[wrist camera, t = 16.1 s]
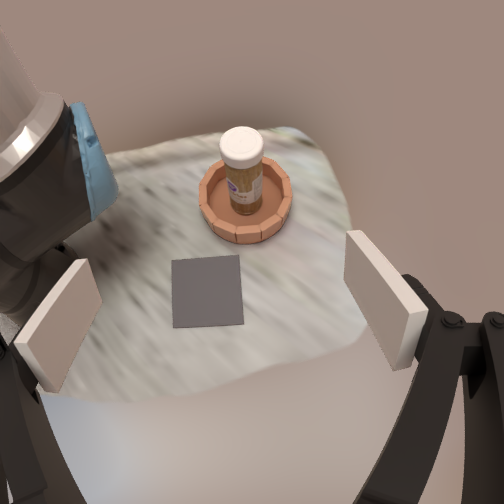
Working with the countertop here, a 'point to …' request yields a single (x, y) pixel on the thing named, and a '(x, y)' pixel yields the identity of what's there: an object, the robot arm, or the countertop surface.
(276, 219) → the terracotta bowl
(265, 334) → the countertop surface
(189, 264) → the rubber mat
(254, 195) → the sprinkles bottle
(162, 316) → the countertop surface
